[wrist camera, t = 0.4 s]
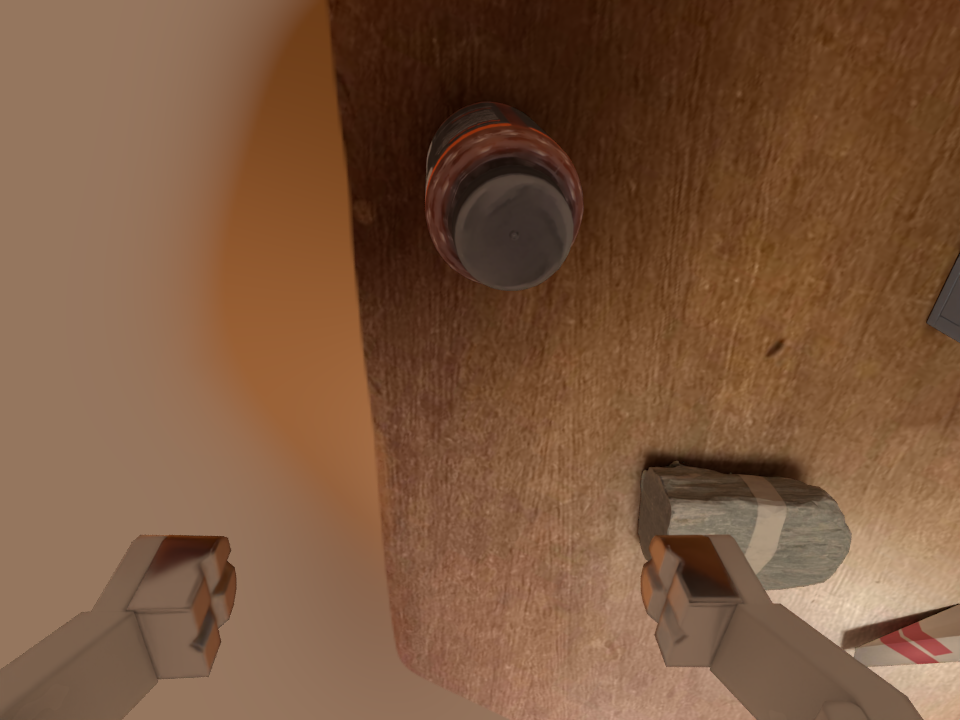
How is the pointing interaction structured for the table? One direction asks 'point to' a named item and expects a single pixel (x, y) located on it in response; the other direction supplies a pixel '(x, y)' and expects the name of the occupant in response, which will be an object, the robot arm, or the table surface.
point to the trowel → (916, 643)
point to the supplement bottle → (500, 197)
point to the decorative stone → (749, 520)
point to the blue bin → (948, 306)
